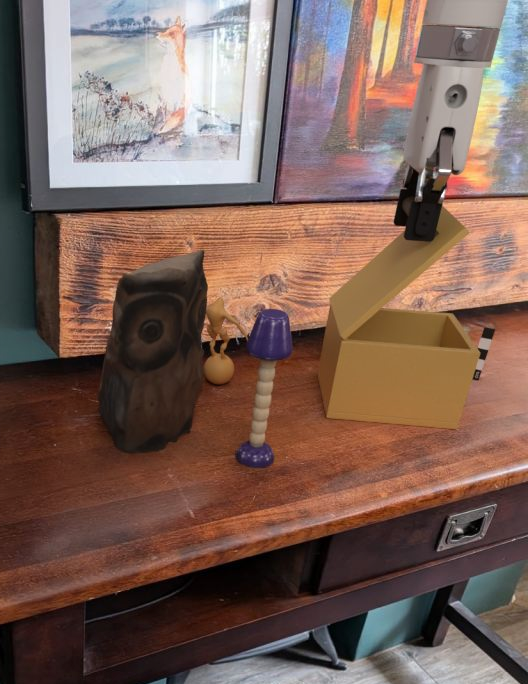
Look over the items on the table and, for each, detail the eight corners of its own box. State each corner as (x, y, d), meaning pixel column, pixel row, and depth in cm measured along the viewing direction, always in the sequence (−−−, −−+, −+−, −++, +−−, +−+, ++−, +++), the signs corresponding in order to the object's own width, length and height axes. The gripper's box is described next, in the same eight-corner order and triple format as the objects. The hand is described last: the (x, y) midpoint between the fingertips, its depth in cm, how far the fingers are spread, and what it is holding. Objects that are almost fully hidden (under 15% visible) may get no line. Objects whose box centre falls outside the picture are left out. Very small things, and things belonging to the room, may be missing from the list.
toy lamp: (277, 471, 80) (302, 321, 71) (234, 469, 80) (253, 319, 71) (270, 449, 84) (293, 305, 75) (229, 448, 84) (247, 303, 75)
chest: (433, 383, 102) (453, 313, 97) (456, 429, 91) (480, 352, 85) (317, 374, 103) (330, 303, 98) (326, 418, 92) (341, 341, 86)
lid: (441, 205, 90) (416, 175, 88) (470, 232, 78) (442, 199, 77) (332, 302, 98) (308, 276, 96) (344, 340, 86) (317, 311, 85)
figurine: (252, 385, 99) (263, 296, 92) (232, 401, 95) (243, 309, 88) (196, 370, 102) (204, 283, 96) (175, 385, 98) (182, 295, 91)
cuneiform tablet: (478, 380, 104) (392, 361, 108) (480, 375, 107) (396, 357, 112) (495, 329, 101) (405, 311, 105) (496, 326, 105) (410, 309, 109)
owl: (199, 409, 92) (215, 243, 81) (208, 460, 82) (227, 278, 71) (97, 406, 92) (99, 238, 81) (93, 457, 81) (94, 272, 70)
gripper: (519, 54, 68) (463, 255, 78) (471, 47, 82) (430, 218, 92) (435, 49, 68) (391, 250, 78) (402, 44, 83) (368, 214, 93)
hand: (412, 231), depth 85 cm, fingers closed on lid, 6 cm apart
